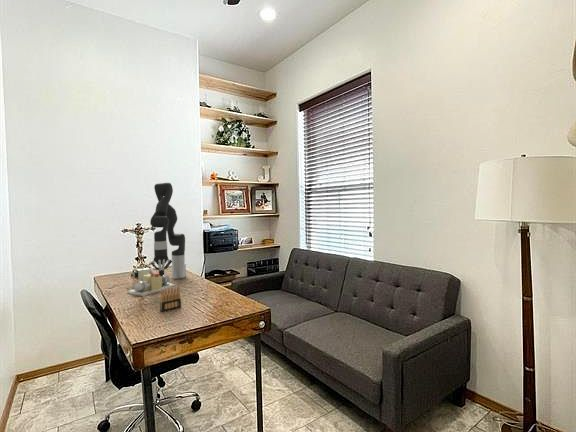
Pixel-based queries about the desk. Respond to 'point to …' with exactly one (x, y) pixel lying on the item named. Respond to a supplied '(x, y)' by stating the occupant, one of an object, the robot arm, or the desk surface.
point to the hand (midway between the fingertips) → (161, 276)
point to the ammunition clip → (170, 299)
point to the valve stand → (151, 285)
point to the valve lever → (154, 273)
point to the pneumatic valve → (141, 273)
